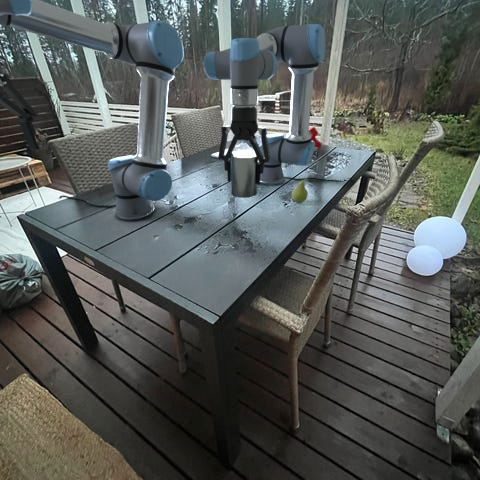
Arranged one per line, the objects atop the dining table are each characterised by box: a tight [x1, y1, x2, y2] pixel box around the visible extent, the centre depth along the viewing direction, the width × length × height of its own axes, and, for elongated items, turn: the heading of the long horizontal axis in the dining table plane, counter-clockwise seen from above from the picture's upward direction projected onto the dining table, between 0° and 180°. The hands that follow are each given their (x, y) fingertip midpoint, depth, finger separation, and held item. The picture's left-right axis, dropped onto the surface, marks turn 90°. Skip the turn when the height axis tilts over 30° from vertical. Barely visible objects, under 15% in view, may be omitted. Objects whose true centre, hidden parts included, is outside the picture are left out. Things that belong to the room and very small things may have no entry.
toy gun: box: [309, 126, 323, 149], centre depth 197 cm, size 18×4×15 cm
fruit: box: [291, 174, 311, 204], centre depth 118 cm, size 7×8×12 cm
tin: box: [229, 150, 258, 199], centre depth 88 cm, size 9×9×13 cm
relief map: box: [210, 141, 260, 162], centre depth 182 cm, size 27×35×5 cm
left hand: (7, 155), depth 65 cm, fingers open, 13 cm apart
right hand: (244, 181), depth 89 cm, fingers closed on tin, 9 cm apart
